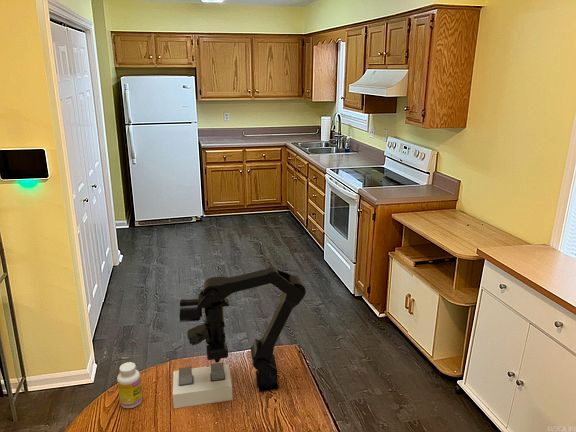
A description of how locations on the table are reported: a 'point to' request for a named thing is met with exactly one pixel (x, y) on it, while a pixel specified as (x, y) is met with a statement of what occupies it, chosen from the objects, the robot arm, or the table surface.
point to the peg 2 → (217, 372)
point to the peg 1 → (185, 376)
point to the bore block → (202, 388)
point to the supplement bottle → (129, 385)
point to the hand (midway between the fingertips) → (217, 361)
